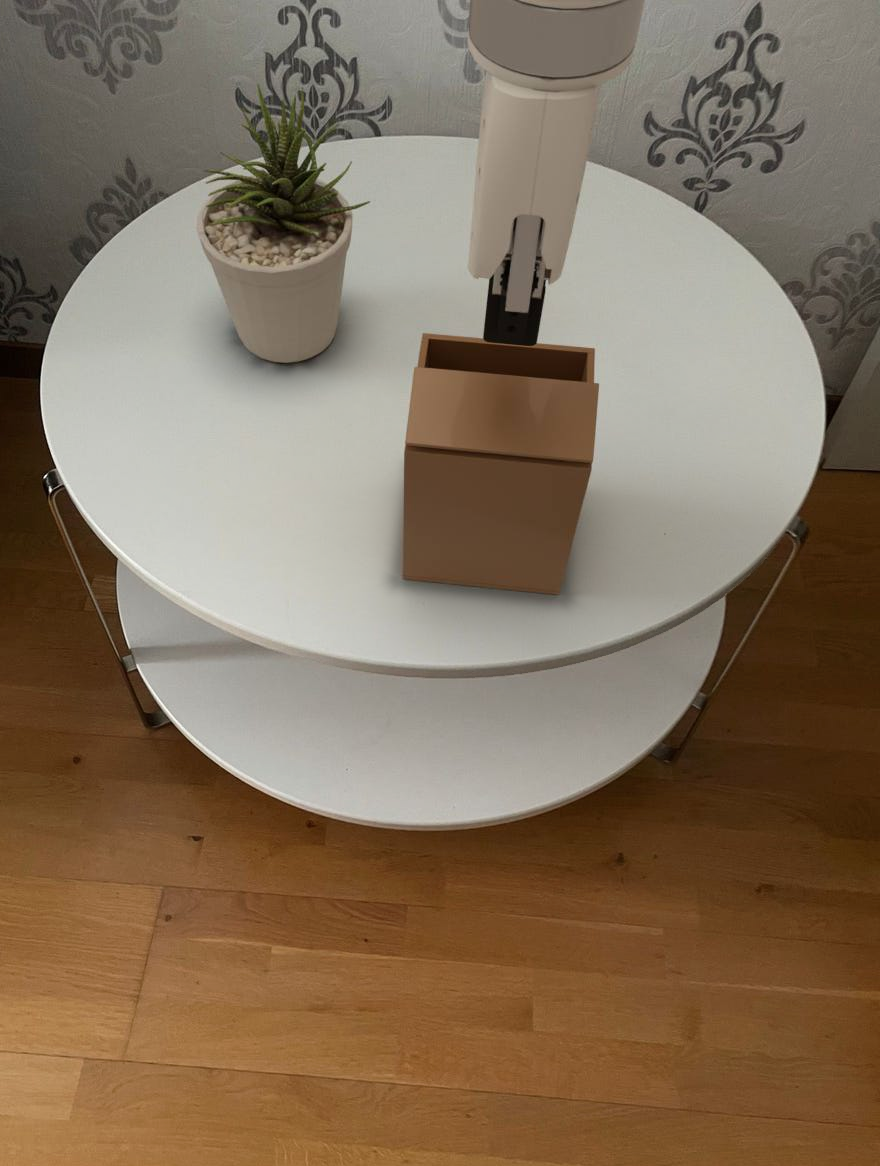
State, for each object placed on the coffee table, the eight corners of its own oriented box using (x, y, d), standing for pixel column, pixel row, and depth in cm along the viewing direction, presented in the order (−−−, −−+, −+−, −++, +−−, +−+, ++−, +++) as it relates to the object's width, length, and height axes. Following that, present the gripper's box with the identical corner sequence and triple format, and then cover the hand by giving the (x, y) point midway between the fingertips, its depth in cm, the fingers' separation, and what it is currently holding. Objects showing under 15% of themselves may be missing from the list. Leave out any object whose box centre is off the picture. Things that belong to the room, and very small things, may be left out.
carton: (563, 483, 80) (595, 347, 68) (558, 595, 75) (591, 469, 62) (418, 469, 81) (422, 332, 68) (402, 579, 75) (404, 451, 63)
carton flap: (598, 386, 63) (599, 383, 63) (592, 463, 62) (593, 460, 61) (414, 369, 64) (414, 366, 63) (405, 445, 63) (405, 443, 62)
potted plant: (387, 360, 87) (385, 149, 70) (235, 394, 85) (195, 184, 68) (347, 271, 93) (337, 56, 76) (205, 300, 91) (161, 86, 74)
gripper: (482, -78, 47) (459, 248, 63) (454, 101, 39) (435, 421, 55) (639, -67, 47) (576, 259, 62) (641, 116, 39) (568, 434, 55)
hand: (510, 334), depth 59 cm, fingers closed
